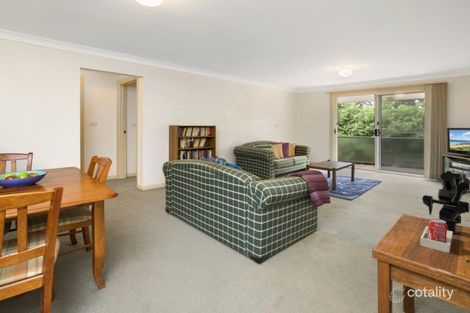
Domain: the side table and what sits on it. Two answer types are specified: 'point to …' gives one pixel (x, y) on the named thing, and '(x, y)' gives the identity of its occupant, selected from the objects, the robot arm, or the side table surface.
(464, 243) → the side table surface
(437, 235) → the soda can
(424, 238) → the can carrier
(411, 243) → the side table surface
